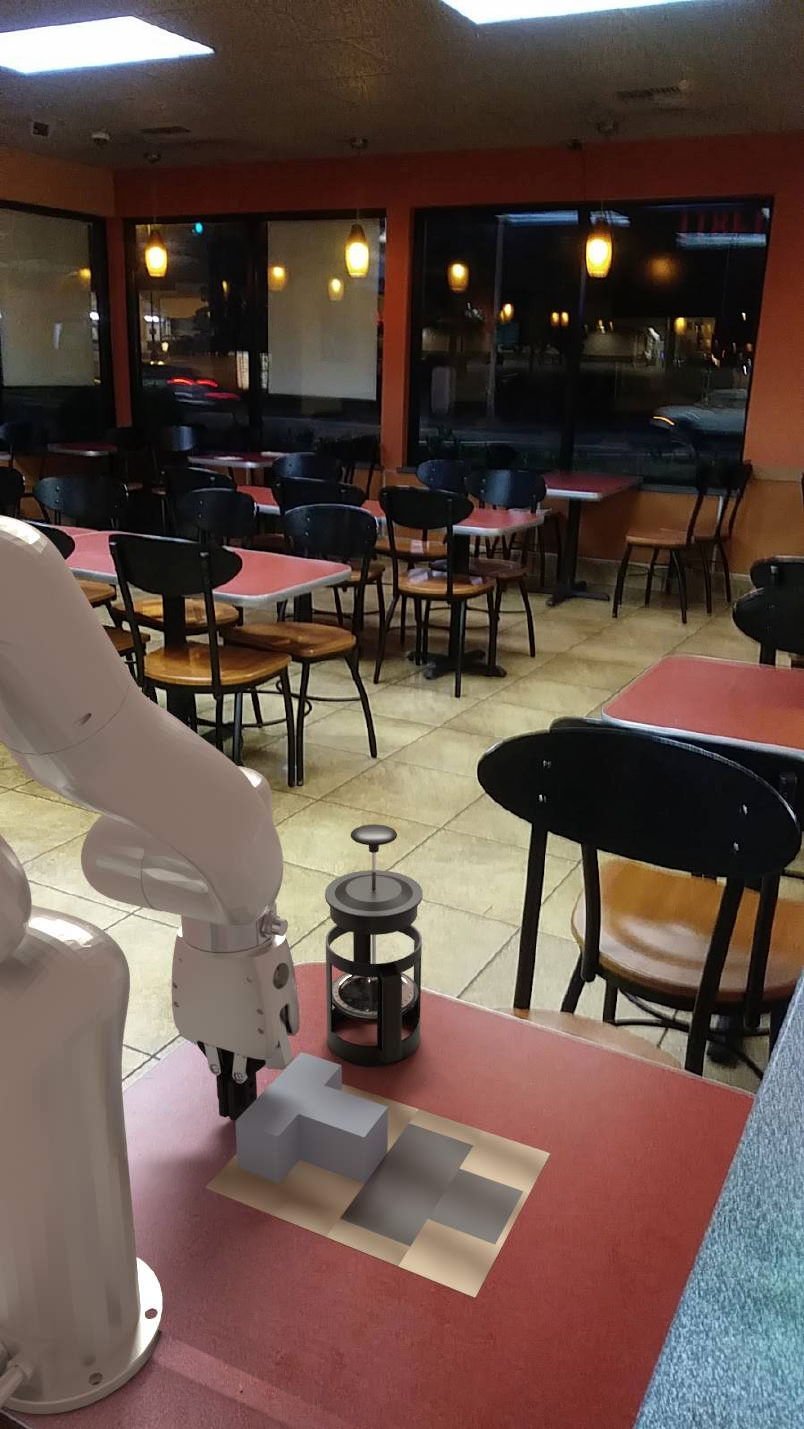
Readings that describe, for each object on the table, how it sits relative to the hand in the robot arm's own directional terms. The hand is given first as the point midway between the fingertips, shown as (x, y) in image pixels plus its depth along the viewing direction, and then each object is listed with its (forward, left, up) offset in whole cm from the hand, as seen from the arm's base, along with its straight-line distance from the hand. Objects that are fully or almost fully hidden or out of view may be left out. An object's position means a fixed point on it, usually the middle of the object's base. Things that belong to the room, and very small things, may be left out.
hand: (237, 1108), depth 92 cm
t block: (0, -8, -1) cm, 8 cm away
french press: (+15, -5, -2) cm, 16 cm away
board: (0, -14, -2) cm, 14 cm away
